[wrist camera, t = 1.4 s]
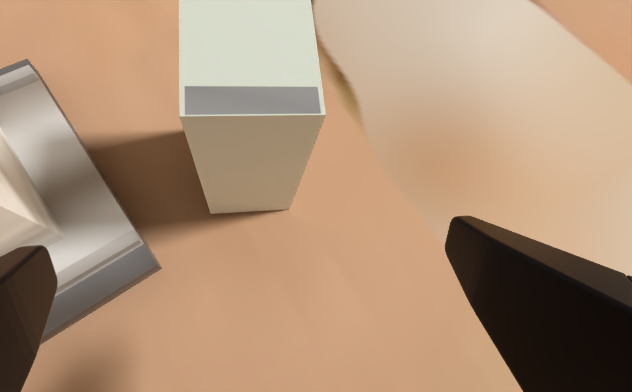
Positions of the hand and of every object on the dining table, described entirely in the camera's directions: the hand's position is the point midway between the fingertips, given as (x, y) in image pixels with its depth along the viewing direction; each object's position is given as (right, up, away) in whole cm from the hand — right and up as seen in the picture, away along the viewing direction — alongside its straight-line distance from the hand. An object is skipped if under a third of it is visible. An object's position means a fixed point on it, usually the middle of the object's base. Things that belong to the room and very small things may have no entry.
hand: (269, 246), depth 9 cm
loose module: (-3, +3, +14) cm, 15 cm away
